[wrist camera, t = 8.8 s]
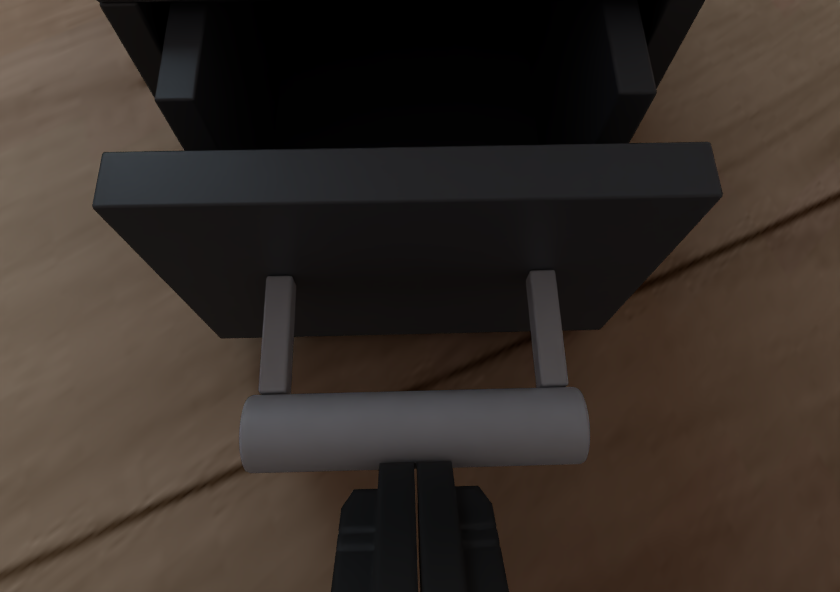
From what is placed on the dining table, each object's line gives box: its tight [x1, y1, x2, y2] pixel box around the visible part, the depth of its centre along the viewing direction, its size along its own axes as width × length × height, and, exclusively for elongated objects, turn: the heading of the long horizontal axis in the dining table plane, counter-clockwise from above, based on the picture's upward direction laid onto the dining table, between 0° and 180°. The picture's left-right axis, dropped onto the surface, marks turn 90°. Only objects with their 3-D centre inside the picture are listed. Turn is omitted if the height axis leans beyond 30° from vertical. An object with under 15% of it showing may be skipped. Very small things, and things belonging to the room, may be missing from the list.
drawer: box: [92, 0, 723, 473], centre depth 16 cm, size 18×11×8 cm, turn 2°
